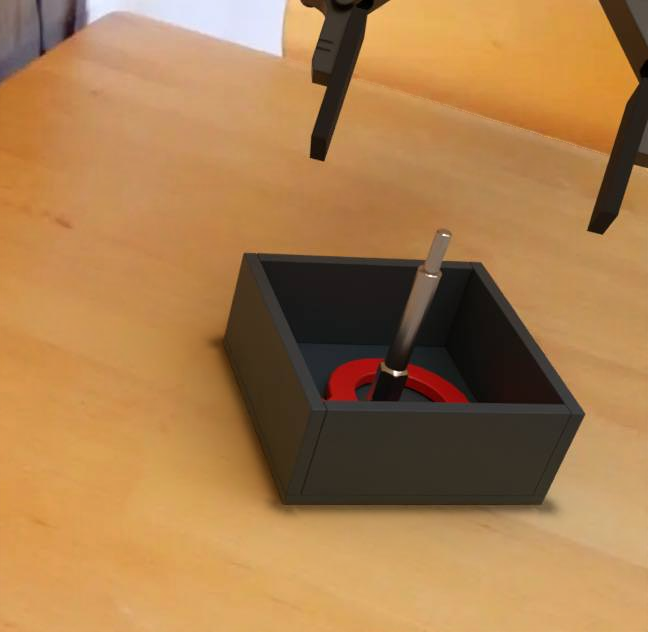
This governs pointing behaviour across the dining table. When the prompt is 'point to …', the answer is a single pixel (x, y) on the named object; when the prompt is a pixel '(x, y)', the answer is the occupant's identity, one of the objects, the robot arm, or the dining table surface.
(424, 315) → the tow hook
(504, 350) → the tote
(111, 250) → the dining table surface
